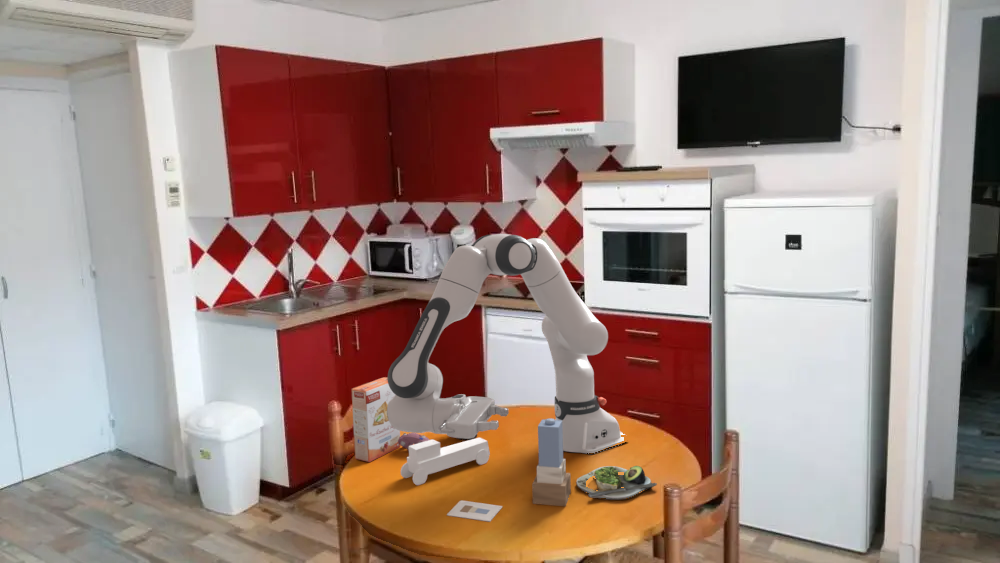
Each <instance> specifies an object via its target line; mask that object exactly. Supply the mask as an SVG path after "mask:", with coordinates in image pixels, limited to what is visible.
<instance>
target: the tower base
mask: <svg viewBox="0 0 1000 563" xmlns="http://www.w3.org/2000/svg"><path fill="white" fill-rule="evenodd" d="M566 460H567V459H566V458H563V461H562V463H561V465H560V467H546V466H539V462H538V464H537V465H536V476H535V477H534V479H533V482H532V483H531V484H532V485H531V486H532V487H531V488H532V504H533V505H545V506H546V505H547V506H559V507H566V506H567V503H568V501H569V499H568V498H570V496H569V495H571V494H572V482H571V472H567V470H566V467H567V466H566Z"/></svg>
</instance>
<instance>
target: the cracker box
mask: <svg viewBox="0 0 1000 563" xmlns="http://www.w3.org/2000/svg"><path fill="white" fill-rule="evenodd" d="M394 396H395V394H394V393H393V392H392V390H391V389H390V387H389V384H388V377H386V376H385V377H381V378H378V379H375V380H373V381H370V382H366V383H363V384H361V385H358V386H355V387H353V388H351V401H352V403H351V404H352V405H351V406H352V424H353V441H354V458H355V460H359V461H363V462H367V463H371V462H373V461H374V460H376V459H379V458H381V457H383V456H384V455H386V454H389V453H390V452H393V451H395V450H397V449H399V448H401V445H400V444H399V443H398V440H399V438H400V437H401V431H400V430H397V429H395V428H393V427H392V425H391V424H390V422H389V420H388V416H387V406H388V403H389V401H390V400H391V399H392V398H393V397H394Z"/></svg>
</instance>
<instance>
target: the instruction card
mask: <svg viewBox="0 0 1000 563" xmlns="http://www.w3.org/2000/svg"><path fill="white" fill-rule="evenodd" d="M502 508H503V505H497V504H489V503H482V502H476V501H475V502H474V501H468V500H459V501H458V502H457V503H456V504H455V505H454V506H453V507H452V509H451V510H449V512H447V514H446V516H449V517H455V518H461V519H462V518H463V519H470V520H475V521H476V520H477V521H481V522H488V523H491V521H493V519H494V517H496V515H497V514H498V513H499V512H500V510H502Z"/></svg>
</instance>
